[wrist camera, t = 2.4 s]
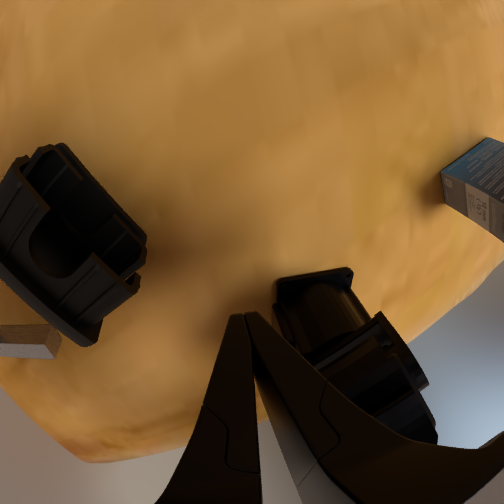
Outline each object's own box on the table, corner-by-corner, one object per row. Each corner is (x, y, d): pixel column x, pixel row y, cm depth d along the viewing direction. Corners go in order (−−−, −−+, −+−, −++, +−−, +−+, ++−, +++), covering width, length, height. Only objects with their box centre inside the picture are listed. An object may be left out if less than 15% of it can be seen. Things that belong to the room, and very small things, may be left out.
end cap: (7, 205, 14) (-46, 254, 8) (58, 133, 13) (-6, 161, 7) (94, 293, 19) (72, 362, 13) (155, 242, 18) (141, 313, 12)
